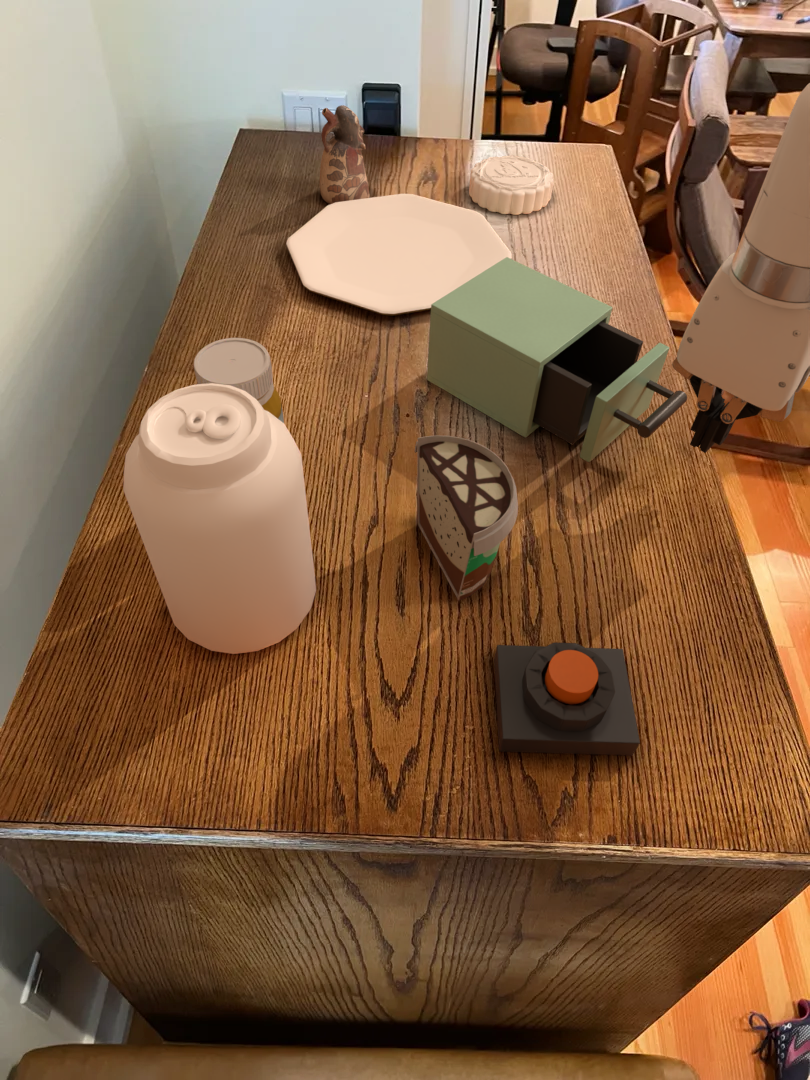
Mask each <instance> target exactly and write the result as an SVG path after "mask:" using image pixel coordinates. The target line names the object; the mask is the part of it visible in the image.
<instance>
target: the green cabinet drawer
mask: <svg viewBox="0 0 810 1080" xmlns="http://www.w3.org/2000/svg"><path fill="white" fill-rule="evenodd" d="M643 344H644V341H643V340H642V339H640V338H638V337H636V336H633V335H631V334H630V333H627V332H625V331H624V330H621V329H619V328H617V327H615V326H613V325H611V324H610V323H608V324H607V323H605V322H603V321H601V322H600V323H598V324H597V325H596V326H594V327H593V328H592V329H590V330H589V331H588V332H587V333H585V334H584V335H583V336H581V337H580V338H579V339H577V340H576V341H575V342H574V343H572V344H571V345H570V346H568V347H567V348H566V349H564V350H563V351H562V352H561V353H559V354H558V355H557V356H555V357H554V358H553V359H551V360H550V361H549V362H548V363H546V364H545V365H544V367H543V372H542V377H541V382H540V387H539V392H538V397H537V402H536V407H535V412H534V417H533V421H532V422H534V423H536V424H537V425H539V427H541V428H543V429H545V430H546V431H547V432H549V433H551V434H553V435H555V436H556V437H558V438H560V439H562V440H563V441H565V442H567V443H568V444H570V445H572V446H573V445H574V444H575V443H576V442H577V441H579V440H580V439H581V438H583V436H584V439H583V442H582V445H581V450H580V454H579V458H580V459H582V460H583V461H584V462H585V461H586V462H587V463H590V462H591V461H593V460H594V459H595V458H597V456H598V455H599V454H600V453H602V451H603V450H605V449H606V448H607V447H608V446H609V445H610V444H611V443H612V442H613V441H615V439H617V438H618V437H619V436H620V435H621V434H622V433H623V432H624V431H625V430H626V429H628V427H632V428H634V429H636V432H637V434H638V435H639V437H641V438H643V439H648V438H650V436H652V435H653V434H654V433H655V432H656V431H657V430H658V429H660V427H661V426H662V425H664V423H666V421H667V420H669V418H671V417H672V416H673V415H674V414H675V413H676V412H677V411H678V410H679V409H680V408H681V407H683V405H684V404H685V403H686V402H687V401H688V395H687V393H686V392H685V391H683V390H681V389H679V390H676V391H673V390H671V389H669V388H667V387H665V386H663V385H661V384H659V383H658V382H659V379H660V377H661V374H662V372H663V368H664V365H665V362H666V359H667V357H668V353H669V351H670V346H668V345H666V344H664V343H662V342H658V343H657V344H656V345H655V346H653V347H652V348H651V349H650V350H649V351H647V352H646V353H645V354H644V355H643V356H641V357H639V356H640V354H641V350H642V347H643ZM655 393H656V394H658V395H660V396H662V397H664V398H666V400H665V401H664V402H663V403H662V404H661V405H659V406H658V407H657V408H656V409H655V410H654V411H653V412H651V413H650V415H648V417H646V419H644V420H643V421H642V420H640V419H639V417H640V416H642V415H643V414H644V413H645V412H646V411H647V410H648V409H650V405H651V403H652V401H653V400H652V399H653V397H654V394H655Z"/></svg>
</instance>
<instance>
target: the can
mask: <svg viewBox="0 0 810 1080" xmlns="http://www.w3.org/2000/svg"><path fill="white" fill-rule="evenodd" d="M140 421H141V422H140V425H139V428H138V429H139V430H138V434H136V436H135V437H134V439H133V440H132V443H131V444H130V446H129V448H128V449H127V452H126V453H125V457H124V458H125V459H124V468H123V493H124V496H125V498H126V501H127V503H128V507H129V509H130V512H131V514H132V516H133V519H134V522H135V525H136V527H137V530H138V533H139V535H140V539H141V541H142V544H143V545H144V549H145V551H146V555H147V557H148V559H149V562H150V564H151V567H152V570H153V572H154V575H155V578H156V580H157V583H158V586H159V588H160V591H161V594H162V596H163V600H164V601H165V604H166V607H167V609H168V612H169V615H170V617H171V620H172V622H173V625H174V626H175V627H176V629H178V630H179V632H181V633H182V635H183V636H184V637H185V638H186V639H187V640H188V641H191V642H193V643H195V644H197V645H199V646H201V647H203V648H205V649H207V650H208V651H211V652H217V653H224V654H231V655H236V654H244V653H253V652H258V651H261V650H263V649H266V648H268V647H271V646H273V645H276V644H279V643H280V642H282V641H283V640H284V639H285V638H286V637H288V636H289V635H291V634H293V632H295V631H296V630H297V629H298V627H299V626H300V625H301V623H302V622H303V621H304V619H305V618H306V617H307V615H308V614H309V612H310V611H311V609H312V607H313V603H314V600H315V597H316V592H317V583H316V574H315V567H314V566H315V565H314V556H313V548H312V539H311V530H310V529H311V528H310V521H309V520H310V519H309V512H308V511H309V510H308V502H307V493H306V486H305V476H304V467H303V466H304V465H303V458H302V457H303V456H302V453H301V451H300V449H299V447H298V445H297V443H296V441H295V439H294V437H293V436H292V434H291V432H290V431H289V429H288V428H287V425H286V424H285V422H284V423H283V422H281V421H280V420H279V419H278V418H276V417H275V416H274V415H272V414H271V413H270V412H268V411H266V410H264V409H263V407H262V406H261V404H260V403H259V402H258V401H257V400H256V399H255V398H254V397H252V396H251V395H250V394H249V393H247V392H246V391H244V390H241V389H239V388H236V387H233V386H230V385H223V384H215V383H209V384H198V383H196V384H192V385H188V386H185V387H181V388H177V389H175V390H173V391H171V392H169V393H167V394H164V395H163V396H161V397H159V398H158V399H157V400H156V401H155V402H154V403H153V404H152V405H151V406H150V407H148V409H147V410H146V412H145V414H144V415H143V417H142V420H140Z"/></svg>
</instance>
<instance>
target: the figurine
mask: <svg viewBox="0 0 810 1080" xmlns="http://www.w3.org/2000/svg"><path fill="white" fill-rule="evenodd" d="M334 112H335V113H333V112H332V111H331V109H329V108H328V107H324V108H323V109H322V110H321V114H322V116H323V117H324V118H325V120H326V123H325V124H324V125H323V127H322V128H321V142H322V145H323V147H324V148H323V151H322V155H321V160H320V167H319V169H320V170H319V181H318V182H319V186H318V187H319V193H320V196H321V198H322V199H323V201H325V202H326V203H327V204H328V205H330V204H333V203H335V202H343V201H350V200H358V199H365V198H371V195H370V189H369V182H368V178H367V172H366V167H365V162H364V156H363V154H362V150H366V144H365V143H364V140H363V135H364V133H365V129H364V127H363V126H362V125H361V124H360V120H359V117H358V115H357V114H356V113H355V112H354V110H352V109H351V108H349V107H348V106H347V105H343V104H342V105H338V106H337V107H336V108H335V111H334ZM331 133H333V136H332V137H330V138H329V139H328V140H327V137H328V135H329V134H331Z"/></svg>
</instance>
